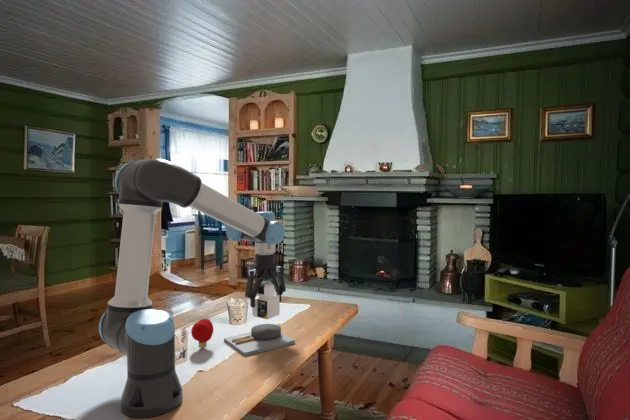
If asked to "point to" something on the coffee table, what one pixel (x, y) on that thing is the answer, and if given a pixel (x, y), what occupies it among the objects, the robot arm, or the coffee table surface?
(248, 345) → the board
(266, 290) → the medicine bottle
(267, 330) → the stub
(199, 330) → the red toy tree
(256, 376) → the coffee table surface
